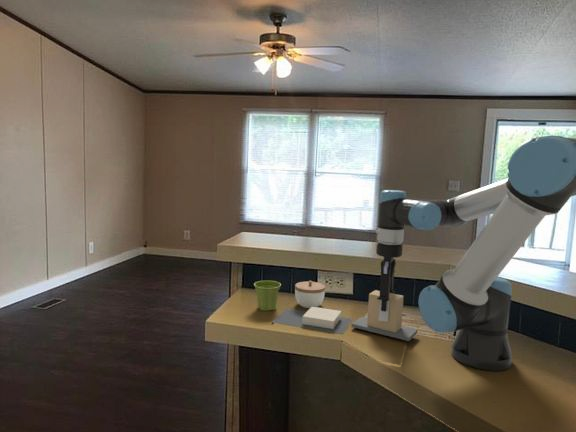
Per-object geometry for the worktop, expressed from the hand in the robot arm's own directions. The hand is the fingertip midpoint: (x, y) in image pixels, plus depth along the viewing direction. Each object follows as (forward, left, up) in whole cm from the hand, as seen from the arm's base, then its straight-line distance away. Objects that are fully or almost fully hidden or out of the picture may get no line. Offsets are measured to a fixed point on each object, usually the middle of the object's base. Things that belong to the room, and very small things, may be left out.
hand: (384, 317), depth 136 cm
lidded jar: (+28, -14, -6) cm, 32 cm away
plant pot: (+41, -6, -6) cm, 42 cm away
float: (0, 0, -4) cm, 4 cm away
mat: (+23, 0, -5) cm, 23 cm away
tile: (+15, 0, -3) cm, 15 cm away
